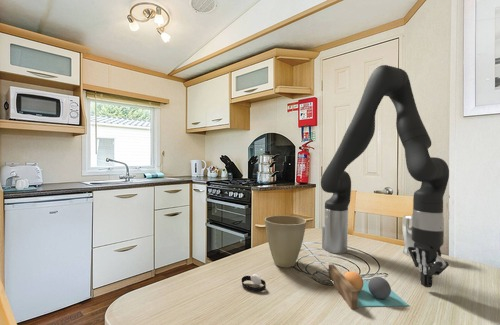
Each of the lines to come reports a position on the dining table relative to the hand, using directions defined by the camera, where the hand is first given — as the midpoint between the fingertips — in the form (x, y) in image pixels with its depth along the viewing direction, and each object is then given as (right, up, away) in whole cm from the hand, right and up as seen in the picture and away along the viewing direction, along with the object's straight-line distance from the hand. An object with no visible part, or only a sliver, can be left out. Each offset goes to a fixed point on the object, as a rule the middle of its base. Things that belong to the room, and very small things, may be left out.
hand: (426, 285), depth 72 cm
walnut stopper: (-25, -1, -1) cm, 25 cm away
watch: (-50, -1, +1) cm, 50 cm away
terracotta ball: (-21, +1, -1) cm, 21 cm away
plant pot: (-38, -1, +18) cm, 42 cm away
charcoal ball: (-15, +1, -4) cm, 16 cm away
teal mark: (-17, -1, -1) cm, 17 cm away
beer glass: (+14, -2, +28) cm, 32 cm away
